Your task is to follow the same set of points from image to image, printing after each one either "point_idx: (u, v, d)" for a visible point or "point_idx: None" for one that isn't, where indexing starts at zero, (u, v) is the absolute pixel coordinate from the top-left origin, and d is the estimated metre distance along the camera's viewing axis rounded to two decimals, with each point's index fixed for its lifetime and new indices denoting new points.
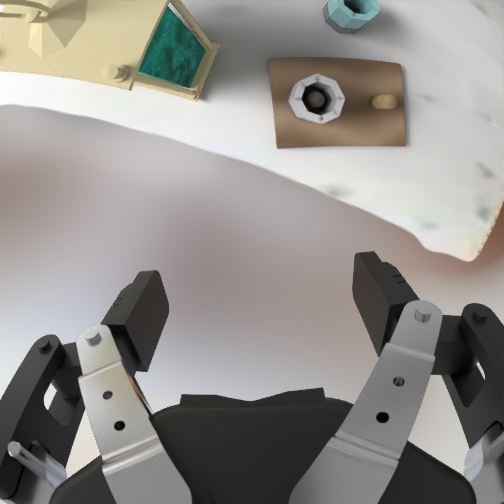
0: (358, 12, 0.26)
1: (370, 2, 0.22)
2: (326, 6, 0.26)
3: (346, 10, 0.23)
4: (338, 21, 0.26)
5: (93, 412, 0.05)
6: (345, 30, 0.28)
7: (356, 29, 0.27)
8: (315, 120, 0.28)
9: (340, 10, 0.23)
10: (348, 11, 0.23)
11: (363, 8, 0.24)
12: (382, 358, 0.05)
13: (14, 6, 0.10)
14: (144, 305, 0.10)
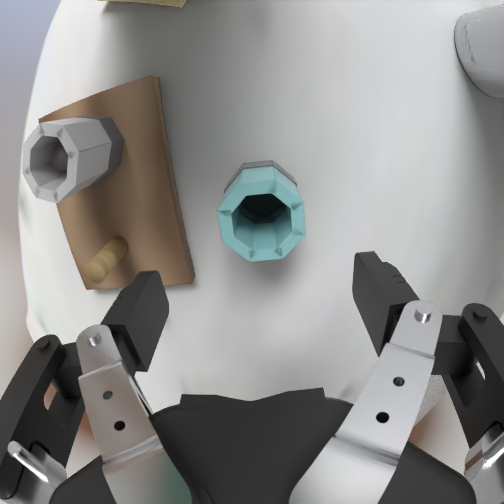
0: (269, 219, 0.23)
1: (269, 246, 0.19)
2: (268, 165, 0.21)
3: (233, 199, 0.17)
4: (232, 184, 0.20)
5: (93, 412, 0.05)
6: None
7: None
8: (24, 163, 0.14)
9: (234, 187, 0.17)
10: (232, 203, 0.17)
11: (268, 230, 0.21)
12: (382, 358, 0.05)
13: None
14: (144, 305, 0.10)
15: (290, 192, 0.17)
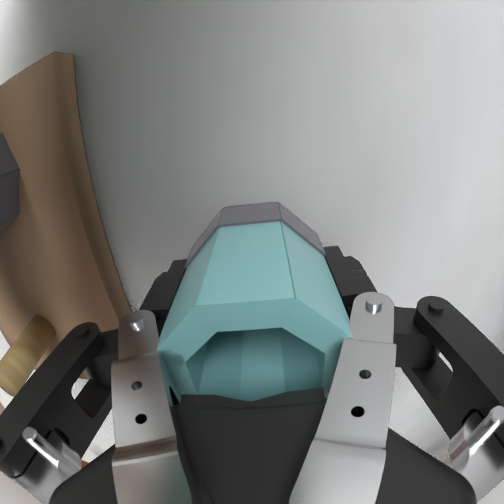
0: None
1: None
2: (272, 218, 0.10)
3: (187, 336, 0.07)
4: (196, 261, 0.10)
5: (118, 400, 0.05)
6: None
7: None
8: None
9: (187, 306, 0.07)
10: (184, 343, 0.07)
11: (270, 347, 0.11)
12: (343, 354, 0.06)
13: None
14: None
15: (330, 323, 0.06)
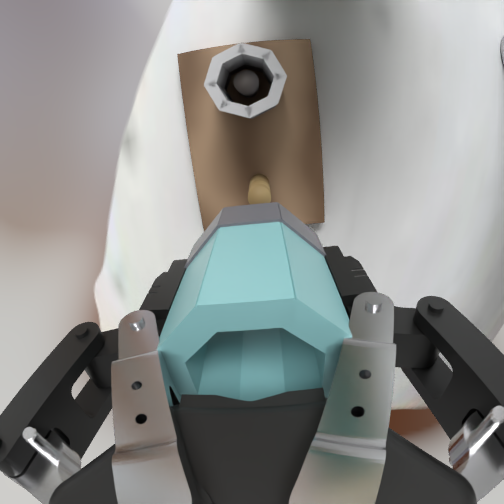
0: None
1: None
2: (272, 218, 0.10)
3: (187, 336, 0.07)
4: (196, 261, 0.10)
5: (118, 400, 0.05)
6: None
7: None
8: (208, 76, 0.17)
9: (187, 306, 0.07)
10: (184, 343, 0.07)
11: (270, 347, 0.11)
12: (343, 354, 0.06)
13: None
14: None
15: (330, 324, 0.06)
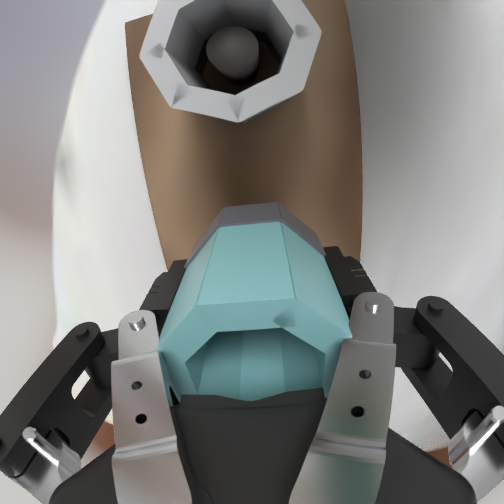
0: None
1: None
2: (272, 218, 0.10)
3: (187, 336, 0.07)
4: (196, 261, 0.10)
5: (118, 400, 0.05)
6: None
7: None
8: (149, 36, 0.07)
9: (188, 306, 0.07)
10: (184, 343, 0.07)
11: (269, 347, 0.11)
12: (343, 354, 0.06)
13: None
14: None
15: (330, 324, 0.06)
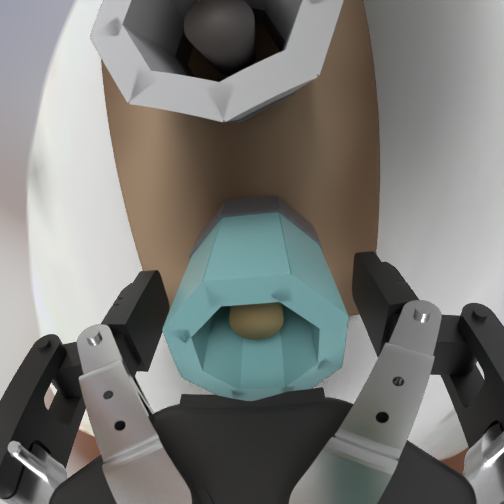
0: None
1: (271, 380, 0.09)
2: (270, 209, 0.11)
3: (193, 311, 0.08)
4: (200, 248, 0.11)
5: (93, 412, 0.05)
6: None
7: None
8: (104, 10, 0.04)
9: (194, 284, 0.08)
10: (191, 318, 0.08)
11: None
12: (381, 358, 0.05)
13: None
14: (144, 305, 0.10)
15: (322, 299, 0.07)
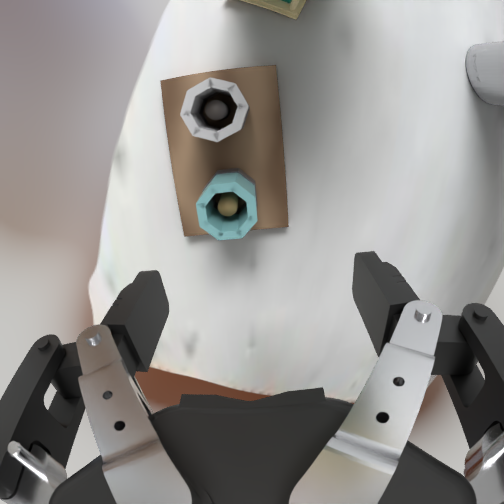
0: (236, 212, 0.31)
1: (232, 229, 0.26)
2: (234, 171, 0.28)
3: (207, 195, 0.25)
4: None
5: (93, 412, 0.05)
6: None
7: None
8: (184, 106, 0.21)
9: (207, 188, 0.25)
10: (205, 198, 0.25)
11: (234, 219, 0.29)
12: (382, 358, 0.05)
13: None
14: (144, 305, 0.10)
15: (245, 190, 0.25)
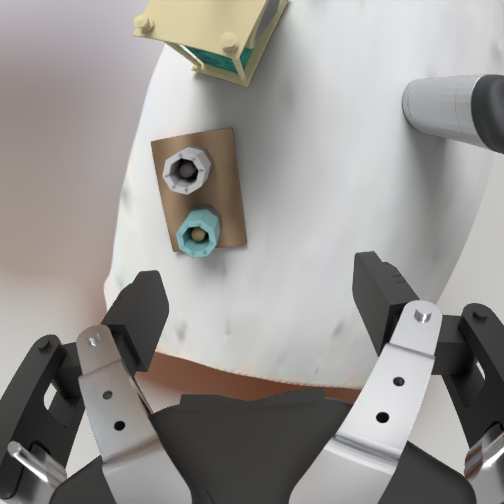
0: (207, 235, 0.44)
1: (201, 250, 0.40)
2: (204, 208, 0.41)
3: (182, 229, 0.38)
4: (185, 219, 0.41)
5: (93, 412, 0.05)
6: None
7: None
8: (164, 171, 0.34)
9: (183, 223, 0.38)
10: (182, 230, 0.38)
11: (204, 242, 0.42)
12: (382, 358, 0.05)
13: None
14: (144, 305, 0.10)
15: (207, 225, 0.38)
